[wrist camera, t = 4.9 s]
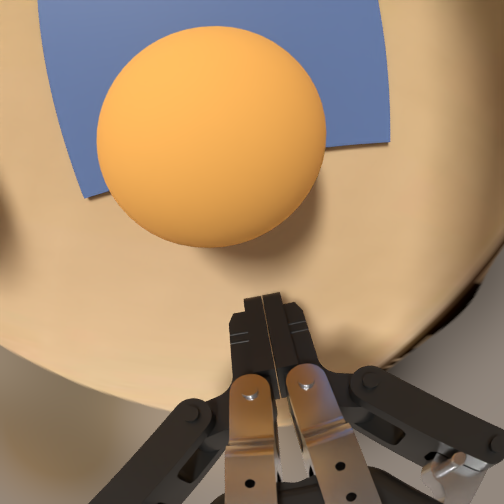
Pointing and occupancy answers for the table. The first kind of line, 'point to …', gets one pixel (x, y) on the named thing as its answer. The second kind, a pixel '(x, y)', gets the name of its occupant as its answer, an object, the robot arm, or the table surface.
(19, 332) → the table surface
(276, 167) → the ball
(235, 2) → the mark
